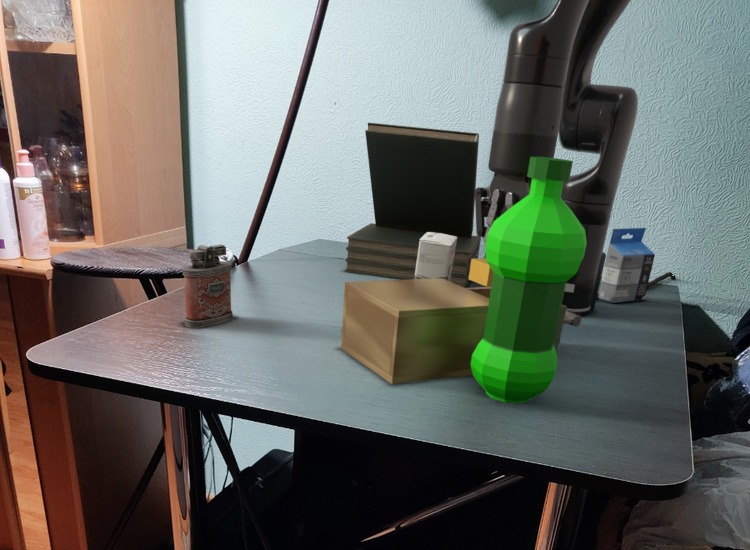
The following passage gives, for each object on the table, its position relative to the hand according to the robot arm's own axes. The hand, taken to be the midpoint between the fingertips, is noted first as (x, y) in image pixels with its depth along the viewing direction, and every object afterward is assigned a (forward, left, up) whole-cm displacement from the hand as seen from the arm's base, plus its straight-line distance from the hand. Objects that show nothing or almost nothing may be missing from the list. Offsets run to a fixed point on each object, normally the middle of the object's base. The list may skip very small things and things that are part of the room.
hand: (501, 278), depth 93 cm
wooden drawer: (-2, 0, -9) cm, 9 cm away
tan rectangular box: (+12, 0, -10) cm, 15 cm away
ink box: (-1, -18, -10) cm, 20 cm away
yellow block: (0, 0, 0) cm, 0 cm away
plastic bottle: (+7, +14, -10) cm, 19 cm away
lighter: (+32, -23, -10) cm, 40 cm away
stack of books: (-17, -49, -10) cm, 52 cm away
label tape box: (-45, -21, -10) cm, 51 cm away
